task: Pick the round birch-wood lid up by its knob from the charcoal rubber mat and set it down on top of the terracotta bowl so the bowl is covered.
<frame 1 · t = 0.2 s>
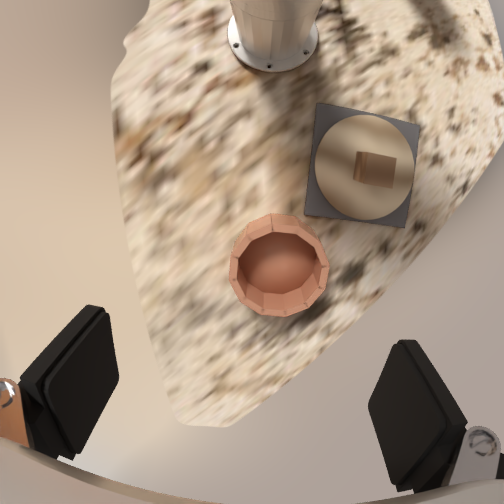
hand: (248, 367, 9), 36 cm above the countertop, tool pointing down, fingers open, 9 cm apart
bowl: (277, 257, 46), on the countertop
mat: (364, 166, 41), on the countertop
lid: (365, 167, 41), point 1 cm above the countertop, touching mat
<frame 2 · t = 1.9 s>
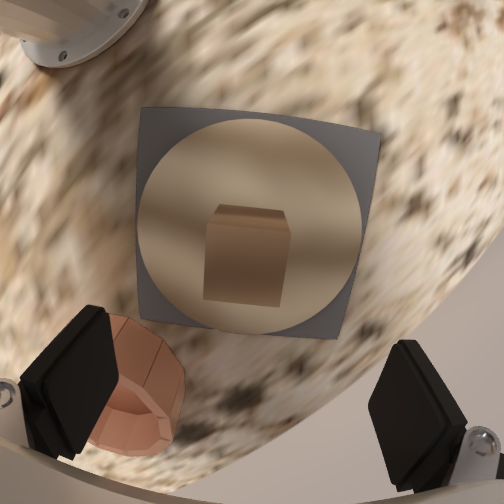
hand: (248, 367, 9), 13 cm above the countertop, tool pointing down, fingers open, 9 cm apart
bowl: (120, 369, 26), on the countertop
mat: (248, 230, 21), on the countertop
lid: (248, 233, 21), point 1 cm above the countertop, touching mat
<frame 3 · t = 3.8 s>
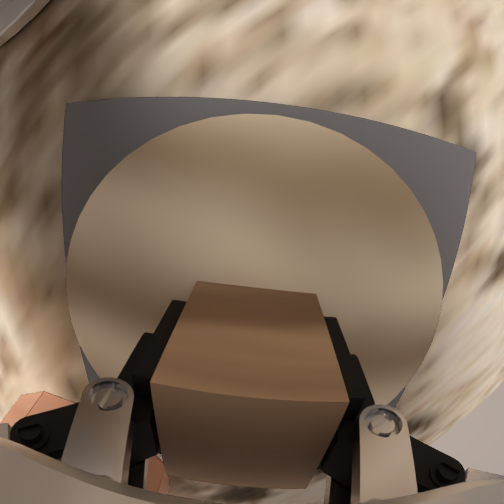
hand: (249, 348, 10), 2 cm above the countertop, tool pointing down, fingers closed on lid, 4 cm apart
bowl: (88, 453, 17), on the countertop
mat: (252, 314, 12), on the countertop
lid: (251, 322, 12), point 1 cm above the countertop, touching gripper, mat
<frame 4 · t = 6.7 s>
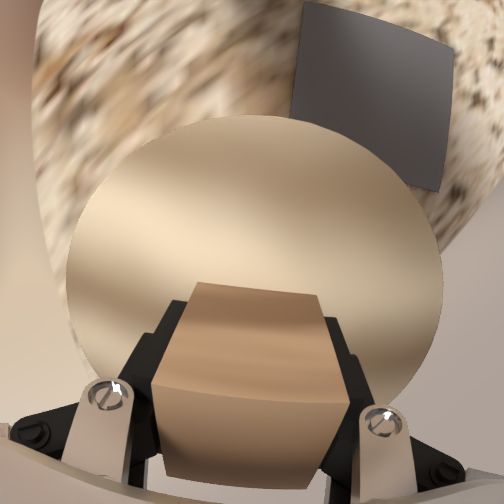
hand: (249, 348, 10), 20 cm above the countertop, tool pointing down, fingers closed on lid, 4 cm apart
mat: (378, 94, 24), on the countertop
lid: (252, 323, 12), point 18 cm above the countertop, touching gripper
when the fingers open (9 cm above the countertop, at t = 9.5 s): lid drops 2 cm, resting on bowl.
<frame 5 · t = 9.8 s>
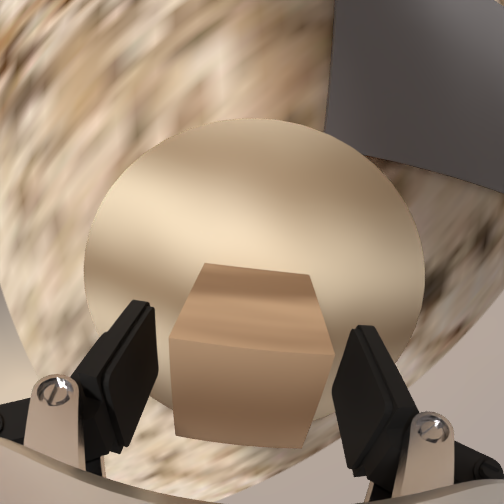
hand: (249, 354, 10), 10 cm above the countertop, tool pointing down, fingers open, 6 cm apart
mat: (446, 60, 14), on the countertop
lid: (252, 303, 13), point 6 cm above the countertop, touching bowl
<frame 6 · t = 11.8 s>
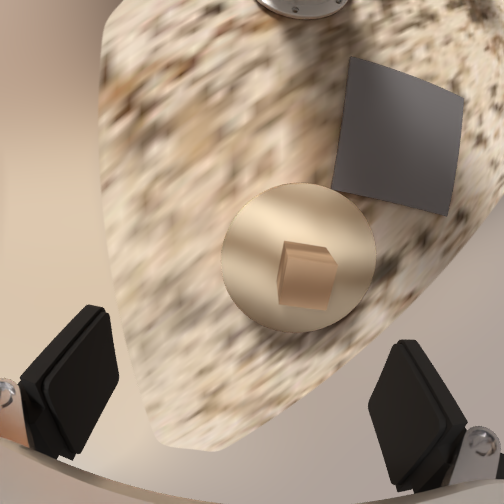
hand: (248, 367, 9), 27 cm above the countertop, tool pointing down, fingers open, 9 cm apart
mat: (404, 137, 31), on the countertop
lid: (299, 260, 30), point 6 cm above the countertop, touching bowl
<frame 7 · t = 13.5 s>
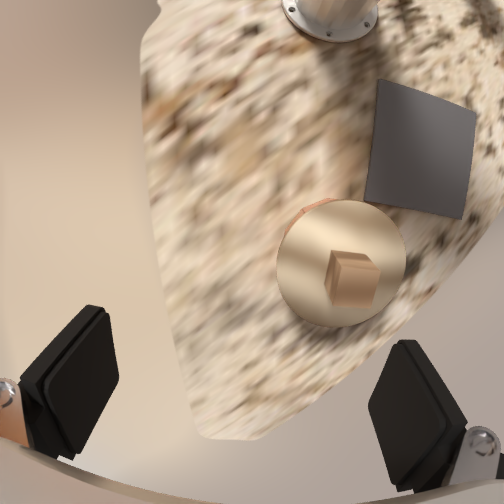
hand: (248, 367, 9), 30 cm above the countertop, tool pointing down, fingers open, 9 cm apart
mat: (425, 151, 35), on the countertop
lid: (342, 265, 34), point 6 cm above the countertop, touching bowl
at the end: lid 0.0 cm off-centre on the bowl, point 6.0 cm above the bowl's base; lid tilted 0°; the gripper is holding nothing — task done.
